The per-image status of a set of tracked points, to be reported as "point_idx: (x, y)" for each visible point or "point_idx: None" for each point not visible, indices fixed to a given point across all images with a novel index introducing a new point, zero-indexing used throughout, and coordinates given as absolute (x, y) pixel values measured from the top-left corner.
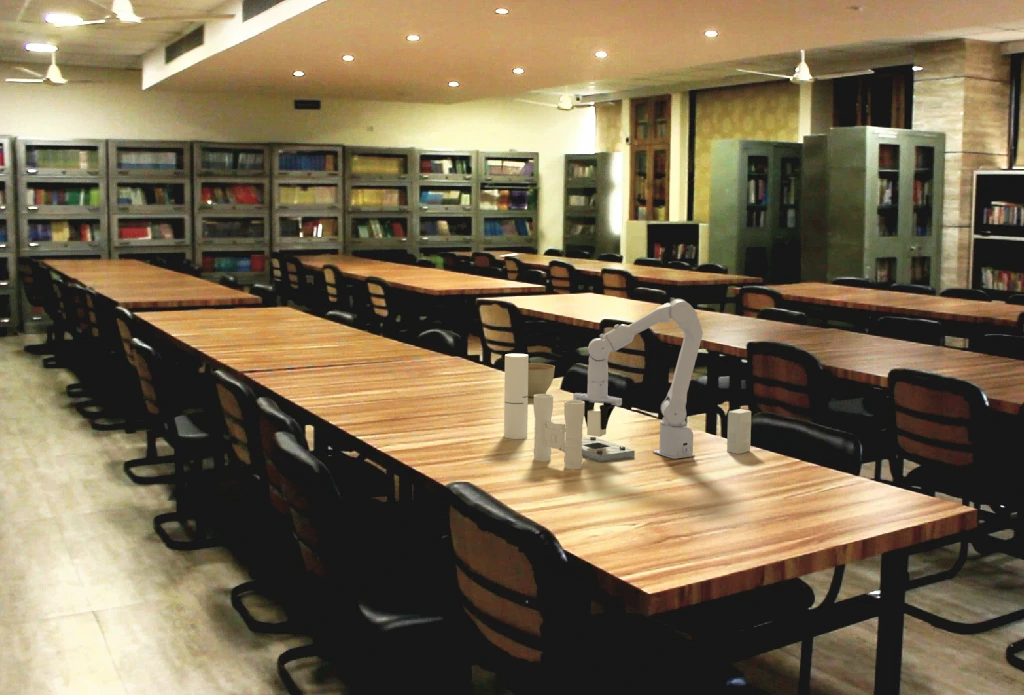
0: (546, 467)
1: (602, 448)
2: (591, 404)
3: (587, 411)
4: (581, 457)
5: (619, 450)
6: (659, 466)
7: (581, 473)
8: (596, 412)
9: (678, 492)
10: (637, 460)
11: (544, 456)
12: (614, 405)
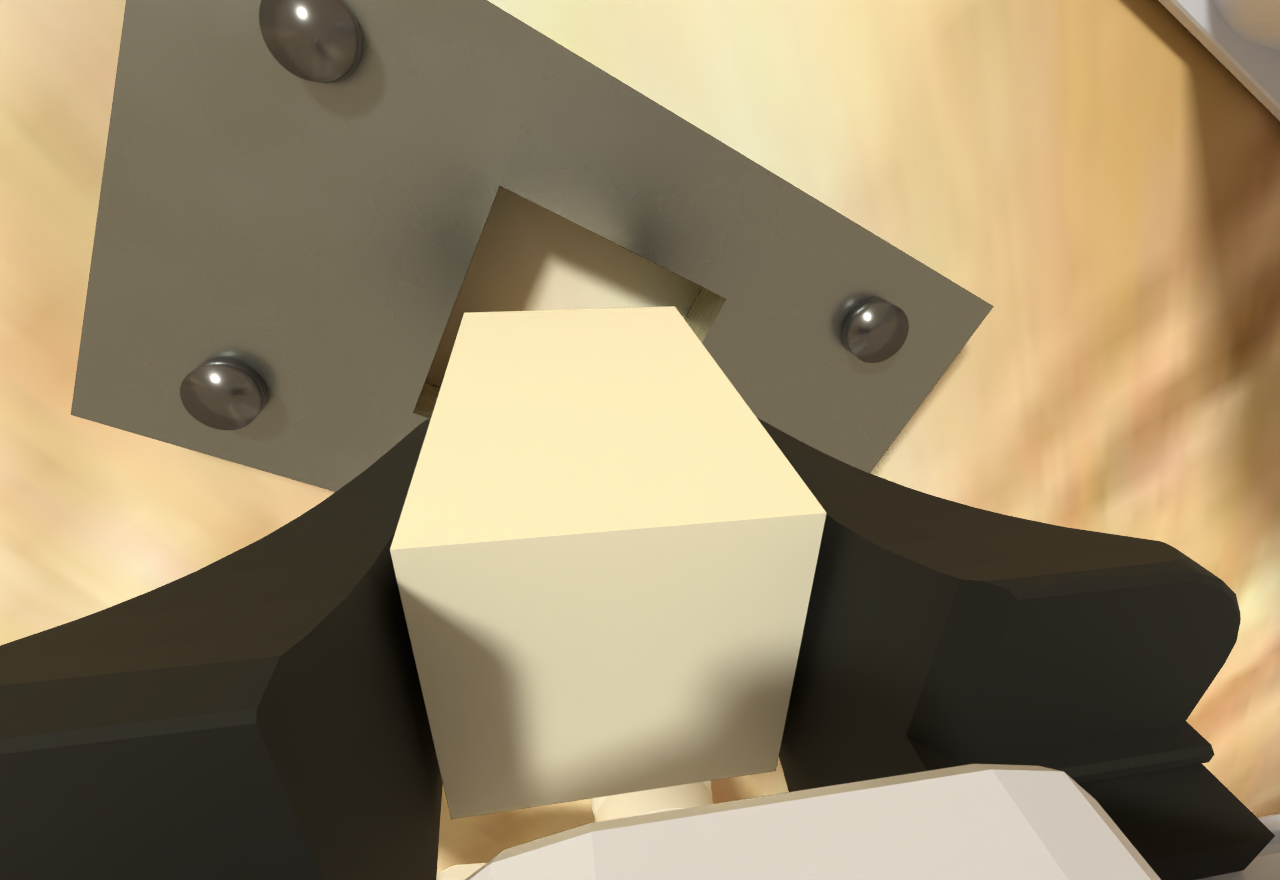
0: (513, 816)
1: None
2: (364, 819)
3: (437, 795)
4: (710, 791)
5: (855, 391)
6: (1158, 423)
7: (742, 785)
8: (676, 771)
9: (1219, 742)
10: (987, 362)
11: None
12: (1211, 658)
